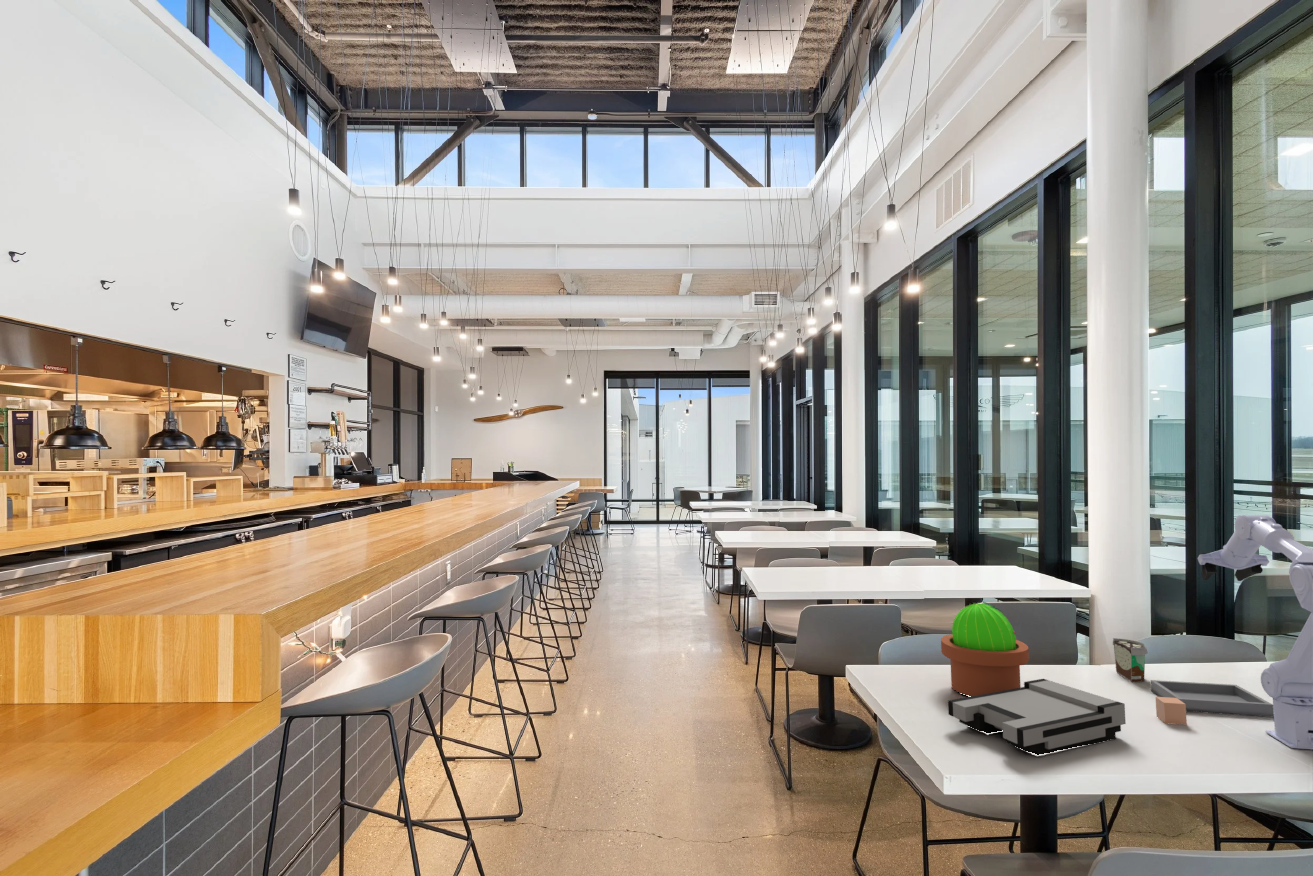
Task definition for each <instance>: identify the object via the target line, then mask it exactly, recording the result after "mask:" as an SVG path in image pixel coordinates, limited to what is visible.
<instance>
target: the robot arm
mask: <svg viewBox="0 0 1313 876" xmlns="http://www.w3.org/2000/svg"><path fill="white" fill-rule="evenodd" d="M1261 547H1264V548H1265V549H1267V550H1268V551H1270V552H1272V553H1277V554H1280V553H1281V554H1282V555H1284V556H1285V557H1287V558H1288V559H1289V560H1291V564H1290V566H1289V568H1288V569H1289V570H1288V574H1289V577H1288V578H1289V582H1290V585H1291V586H1292V589H1293V592H1294V594H1295V596H1296V598H1297V600H1298V603H1299V605H1300V608H1302V609H1303V610H1306V611H1308V612H1310V614H1309V616H1308V618H1307V620H1306V622H1305V624H1304V625H1303V627H1302V628H1301V631H1300V633H1299V635H1298V636H1297V638H1296V640H1295V642H1294V644H1293V646H1292V648H1291V650H1290V652H1289V653H1288V655H1287V657H1286V658H1285V659H1281V660H1278V661H1275V662H1271V663H1270V665H1269V666H1268V667H1267V668H1265V669H1263V671H1261V673H1260V683H1261V687H1262V689H1263V691H1264V692H1265V693H1266V694H1267V696H1268V697H1270V698H1272V704H1273V711H1274V717H1273V722H1274V723H1273V724H1274V730H1271V729H1269V730H1268V729H1265V733H1266V734H1268V735H1269V736H1271V737H1273V738H1274V739H1276V740H1277V741H1279V742H1280V743H1283V744H1284V745H1286V746H1287V747H1289V748H1291V749H1299V750H1300V749H1301V750H1313V548H1311V547H1308V546H1306V545H1305V544H1302V543H1301V542H1299V541H1296V540H1295V536H1294V535H1293V534H1292V533H1291V532H1290V531H1289V530H1287V529H1286V528H1283V525H1282V524H1279V523H1277V522H1276V520H1275V519H1274V518H1273V517H1271V516H1270V515H1267V514H1242V515H1239V514H1238V515H1237V516H1236V517H1235V520H1234V532H1233V534H1232V535H1231V537H1230V538H1229V540H1228V541H1227V542H1226V544H1224V545H1223V546H1222V549H1219V550H1215V551H1213V552H1208V553H1205V552H1204V553H1201V554H1199V555H1198V557H1197V561H1198V563H1199V565H1200V566H1201V572H1200V575H1201V577H1202V580H1203V581H1208V580H1209V579H1210V578H1211V577H1212V576H1213V575H1215V574H1216V573H1218V570H1217V568H1216V566H1218V567H1219V566H1220V567H1225V568H1227V569H1231V570H1236V571H1235V573H1234V575H1235V577H1236V579H1237V582H1242V581H1243V580H1245V579H1247V578H1249V577H1251V576H1254V575H1258V574H1262V573H1263V567H1267V566H1268V564H1269V563H1270V560H1269V558H1268V556H1267V555H1265V554H1258V553H1257V551H1258V550H1259V549H1260V548H1261Z"/></svg>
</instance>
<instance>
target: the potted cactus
mask: <svg viewBox="0 0 1313 876" xmlns="http://www.w3.org/2000/svg"><path fill="white" fill-rule="evenodd" d="M951 620H953V621H952V623H951V624H952V625H951V626H950V627H951V632H952V633H951V634H947V635H944V636H942V637H941V638H940V652H941V654H942V655H943V656H944V657H946V658H947V659H950V680H951V681H950V684H951V688H952V689H953V691H954V690H956V691H957V692H959V693H962V694H965V695H969V696H976V695H982V694H987V693H993V692H999V691H1004V690H1010V689H1015V688H1021V687H1022V686H1021V668H1020V667H1021V666H1024V665H1026V664H1027V665H1028V663H1029V661H1030V655H1029V654H1030V653H1029V646H1028V644H1026V643H1024V642H1022V641H1021V640H1019V639H1017V636H1016V631H1015V630H1014V627H1013V626H1012V624H1011V622H1010V621H1009V619H1008V617H1007V616H1005V615H1004V614H1003V611H1002V610H1000V609H999V608H997V607H996V606H994V605H993V604H990V603H988V602H986V601H982V603H981V602H977V603H973V604H969V605H966V606H964V607H963V608H961V609H959V611H958V613H957V614H956V615H954V618H951ZM956 691H955V692H956ZM957 692H956V693H957ZM959 693H958V694H959Z"/></svg>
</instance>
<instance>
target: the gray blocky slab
mask: <svg viewBox="0 0 1313 876" xmlns="http://www.w3.org/2000/svg"><path fill="white" fill-rule="evenodd" d="M1125 704H1126V703H1123V702H1120V701H1117V700H1114V699H1110V698H1108V697H1104V696H1101V695H1098V694H1095V693H1090V692H1088V691H1085V690H1081V689H1078V688H1075V687H1071V686H1068V685H1065V684H1063V683H1059V682H1056V681H1053V680H1049V679H1045V678H1039V679H1034V680H1027V681H1024V682H1023V686H1021V688H1015V689H1010V690H1004V691H999V692H993V693H987V694H982V695H976V696H971V697H966V696H964V697H961V698H955V699H949V700H947V705H948V706H947V707H948V708H947V709H948V716H951V717H953V718H956V719H958V722H959V723H961V724H963V725H966V726H970V727H972V728H974V729H977V730H979V731H984V732H986V733H991V732H997V731H1002V730H1003V733H1002V738H1003V739H1005V742H1004V743H1006V744H1009V745H1012V746H1013V747H1014V746H1016V747H1018V748H1021V749H1023V750H1025V751H1028V752H1032V753H1035V754H1037V755H1039V754H1044V753H1050V752H1054V751H1057V750H1063V749H1068V748H1072V747H1077V746H1082V745H1088V744H1092V745H1095V744H1094V743H1096V744H1100V743H1099V742H1101V743H1104V742H1103V741H1105V742H1108V741H1107V740H1109V741H1111V740H1110V739H1114V740H1116V739H1117V737H1116V735H1117V734H1116V733H1120V732H1122V725H1126V706H1125ZM974 729H973V730H974ZM1088 746H1089V745H1088Z"/></svg>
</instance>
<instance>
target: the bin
mask: <svg viewBox="0 0 1313 876" xmlns="http://www.w3.org/2000/svg"><path fill="white" fill-rule="evenodd" d="M1150 690H1151V691H1150V692H1152V693H1153V694H1155V695H1156V697H1169V698H1177V699H1179V700H1180V701H1182V702H1183V703H1185V704H1186V712H1190V713H1192V712H1193V713H1203V712H1208V713H1207V714H1219V713H1222V715H1234V714H1239V715H1238V716H1249V715H1252V716H1253V717H1266V718H1268V717H1269V718H1274V710H1273V703H1271V702H1269V701H1268V700H1265V699H1264V698H1262V697H1260V696H1258V695H1256V694H1254V693H1252V692H1250V691H1249V690H1247V689H1245V688H1243V687H1241V686H1240V685H1237V684H1231V683H1230V684H1227V683H1210V682H1209V683H1207V682H1193V681H1191V682H1189V681H1174V680H1173V681H1171V680H1158V679H1157V680H1155V679H1151V680H1150Z"/></svg>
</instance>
